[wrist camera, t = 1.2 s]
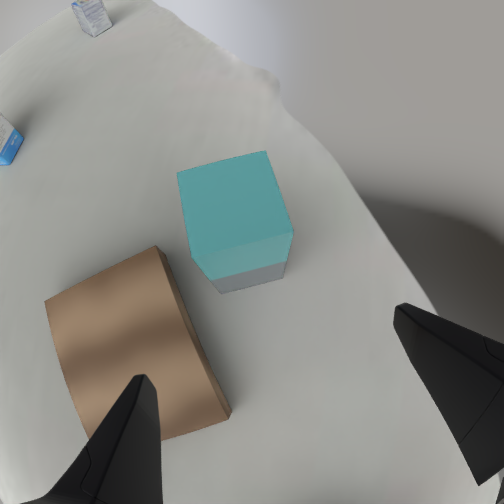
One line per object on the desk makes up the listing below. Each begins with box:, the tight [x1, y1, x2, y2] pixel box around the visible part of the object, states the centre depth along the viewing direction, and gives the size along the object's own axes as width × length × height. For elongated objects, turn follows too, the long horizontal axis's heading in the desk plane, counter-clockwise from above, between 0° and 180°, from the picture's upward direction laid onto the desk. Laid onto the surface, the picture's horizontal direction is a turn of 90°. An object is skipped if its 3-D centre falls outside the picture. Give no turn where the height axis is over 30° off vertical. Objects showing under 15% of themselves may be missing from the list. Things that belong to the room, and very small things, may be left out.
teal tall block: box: [177, 150, 294, 294], centre depth 20 cm, size 5×5×10 cm
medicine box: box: [71, 0, 112, 37], centre depth 36 cm, size 8×4×9 cm, turn 43°
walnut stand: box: [44, 246, 232, 441], centre depth 21 cm, size 14×12×2 cm
